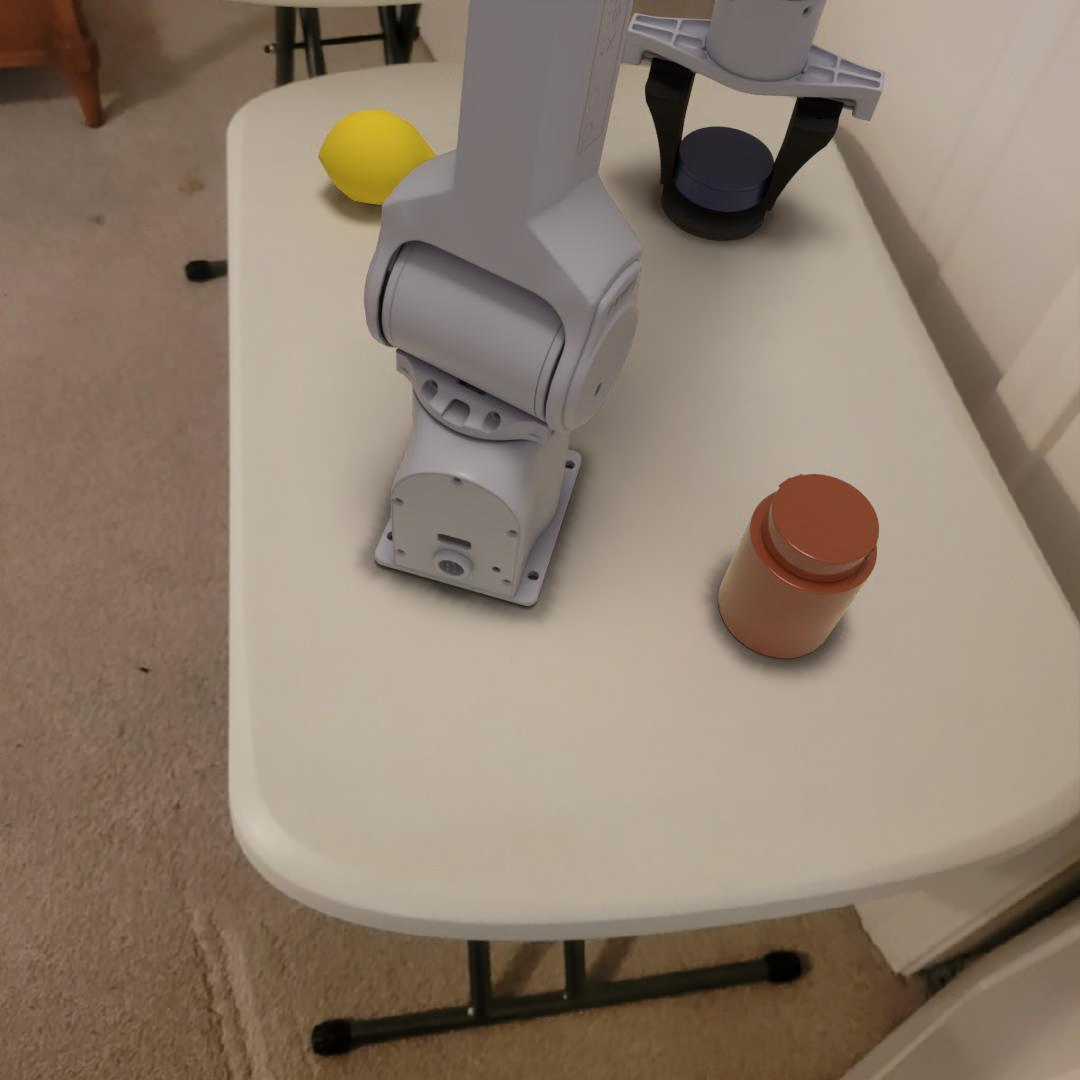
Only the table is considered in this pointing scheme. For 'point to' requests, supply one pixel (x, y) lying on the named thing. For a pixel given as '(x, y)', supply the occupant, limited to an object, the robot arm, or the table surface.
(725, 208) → the lid
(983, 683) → the table surface
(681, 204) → the coaster
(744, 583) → the jar
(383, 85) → the table surface
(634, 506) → the table surface
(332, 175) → the lemon
